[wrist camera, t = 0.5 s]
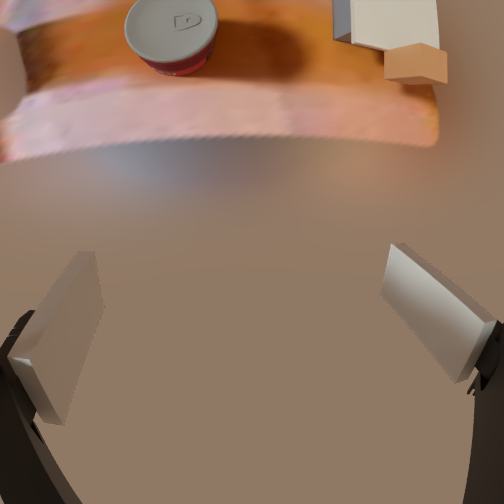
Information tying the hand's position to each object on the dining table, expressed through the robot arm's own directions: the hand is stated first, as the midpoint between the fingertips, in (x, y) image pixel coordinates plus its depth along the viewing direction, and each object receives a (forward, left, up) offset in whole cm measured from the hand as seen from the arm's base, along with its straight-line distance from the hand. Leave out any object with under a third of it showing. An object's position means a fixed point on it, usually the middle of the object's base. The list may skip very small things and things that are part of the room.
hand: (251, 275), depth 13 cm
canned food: (-15, -5, -26) cm, 31 cm away
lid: (-23, +19, -21) cm, 37 cm away
